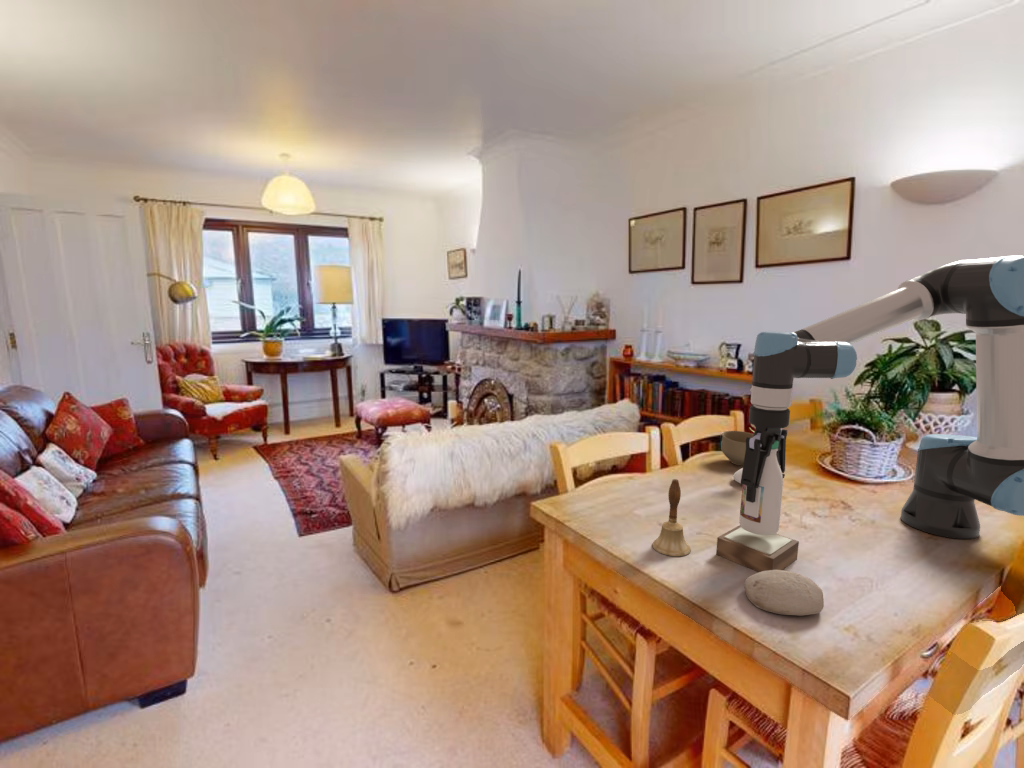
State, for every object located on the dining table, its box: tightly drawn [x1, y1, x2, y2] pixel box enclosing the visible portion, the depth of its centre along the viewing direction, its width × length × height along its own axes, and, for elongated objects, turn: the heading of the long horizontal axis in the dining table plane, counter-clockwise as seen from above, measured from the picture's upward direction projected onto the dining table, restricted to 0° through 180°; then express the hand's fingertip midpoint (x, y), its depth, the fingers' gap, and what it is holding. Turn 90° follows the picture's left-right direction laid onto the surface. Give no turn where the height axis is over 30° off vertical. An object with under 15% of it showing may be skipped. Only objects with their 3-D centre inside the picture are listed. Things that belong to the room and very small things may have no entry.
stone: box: [743, 569, 825, 617], centre depth 95 cm, size 13×10×8 cm
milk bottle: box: [738, 440, 784, 535], centre depth 109 cm, size 8×8×20 cm
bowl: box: [720, 430, 754, 466], centre depth 174 cm, size 13×13×10 cm
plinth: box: [716, 524, 800, 573], centre depth 111 cm, size 12×12×4 cm
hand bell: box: [651, 478, 692, 557], centre depth 114 cm, size 8×8×16 cm
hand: (760, 510), depth 110 cm, fingers closed on milk bottle, 8 cm apart
